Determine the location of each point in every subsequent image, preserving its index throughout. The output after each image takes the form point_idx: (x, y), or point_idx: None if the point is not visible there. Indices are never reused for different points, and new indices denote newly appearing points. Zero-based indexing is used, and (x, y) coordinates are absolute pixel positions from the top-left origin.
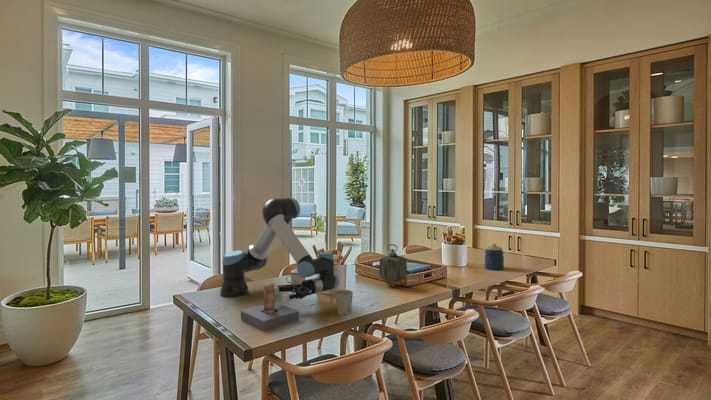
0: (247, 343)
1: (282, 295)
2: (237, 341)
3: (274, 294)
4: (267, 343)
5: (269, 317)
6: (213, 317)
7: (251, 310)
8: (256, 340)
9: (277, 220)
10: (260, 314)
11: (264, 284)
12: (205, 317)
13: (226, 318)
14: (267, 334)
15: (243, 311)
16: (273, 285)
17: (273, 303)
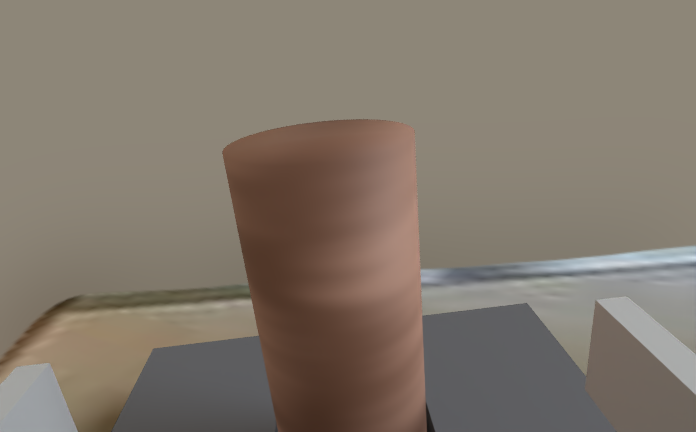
0: (121, 310)
1: (33, 366)
2: (186, 291)
3: (280, 338)
4: (5, 365)
5: (173, 402)
6: (632, 274)
7: (485, 353)
8: (101, 341)
9: None
10: None
11: (389, 122)
12: (644, 254)
13: (583, 311)
14: (94, 404)
15: (489, 310)
16: (227, 163)
17: (277, 421)
